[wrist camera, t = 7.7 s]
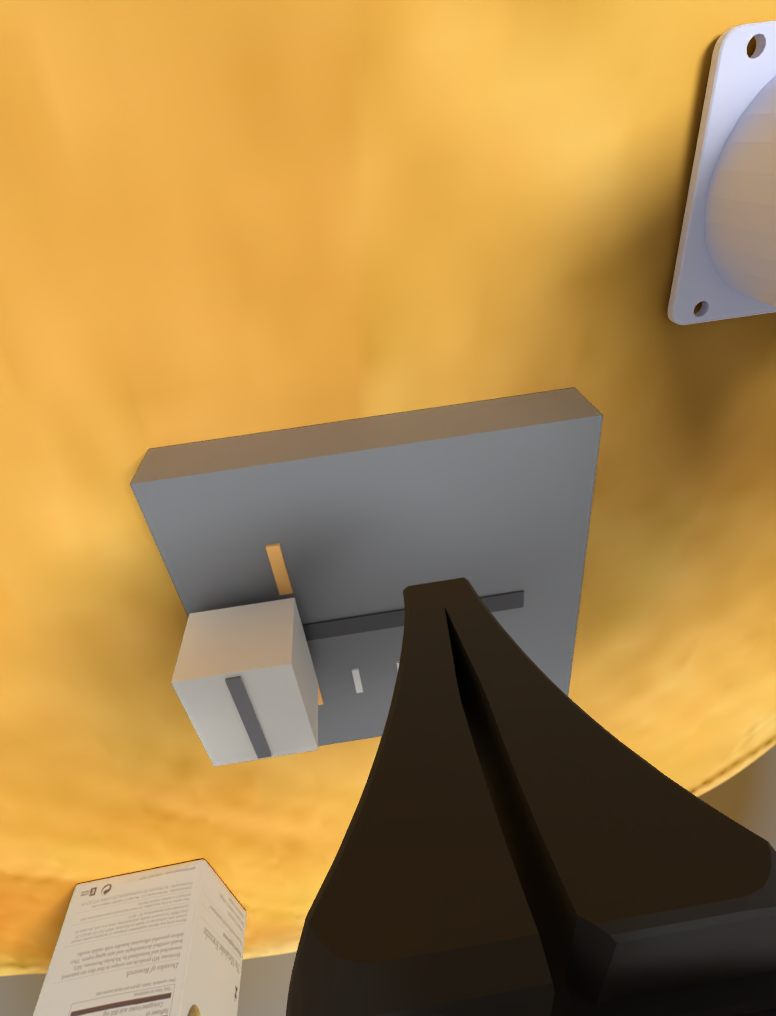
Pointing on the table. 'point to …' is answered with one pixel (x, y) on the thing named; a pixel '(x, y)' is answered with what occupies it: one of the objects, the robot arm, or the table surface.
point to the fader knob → (248, 682)
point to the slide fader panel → (386, 531)
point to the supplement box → (148, 947)
